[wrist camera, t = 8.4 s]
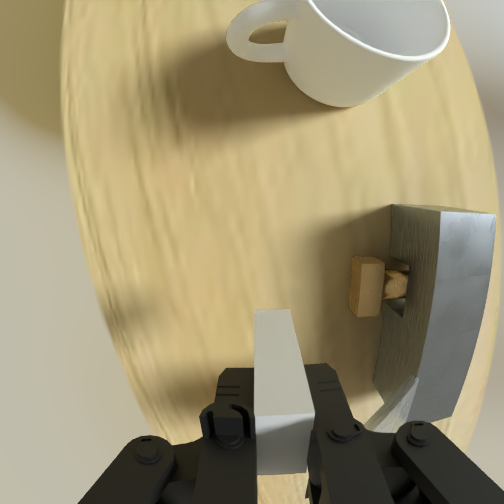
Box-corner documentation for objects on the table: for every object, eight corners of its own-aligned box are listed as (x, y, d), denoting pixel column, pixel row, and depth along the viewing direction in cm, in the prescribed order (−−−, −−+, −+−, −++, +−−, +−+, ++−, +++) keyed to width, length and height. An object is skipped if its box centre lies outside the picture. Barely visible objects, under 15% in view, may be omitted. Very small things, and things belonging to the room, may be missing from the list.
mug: (239, 119, 21) (227, 65, 11) (225, 27, 19) (209, -56, 9) (392, 109, 20) (469, 70, 10) (369, 22, 19) (420, -44, 9)
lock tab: (327, 457, 11) (338, 463, 11) (410, 374, 17) (419, 378, 16) (315, 506, 12) (324, 511, 12) (394, 428, 18) (402, 431, 17)
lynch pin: (348, 306, 23) (357, 317, 21) (351, 256, 23) (362, 264, 20) (461, 297, 23) (475, 305, 21) (467, 254, 23) (483, 260, 20)
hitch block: (391, 203, 22) (440, 211, 15) (442, 206, 22) (496, 214, 15) (372, 382, 25) (399, 430, 18) (418, 374, 25) (451, 416, 18)
